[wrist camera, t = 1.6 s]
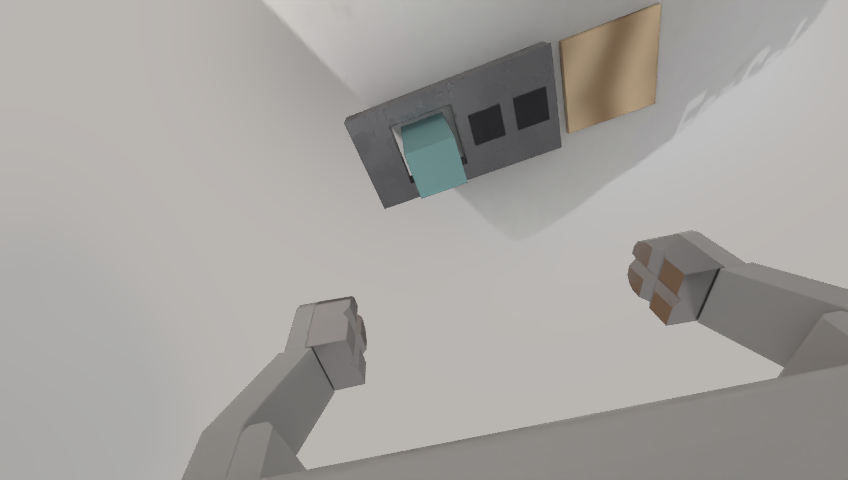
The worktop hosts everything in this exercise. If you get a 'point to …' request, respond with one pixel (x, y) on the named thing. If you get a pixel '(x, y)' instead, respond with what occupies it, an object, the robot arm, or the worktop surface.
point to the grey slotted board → (468, 120)
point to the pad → (610, 68)
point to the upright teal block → (432, 155)
